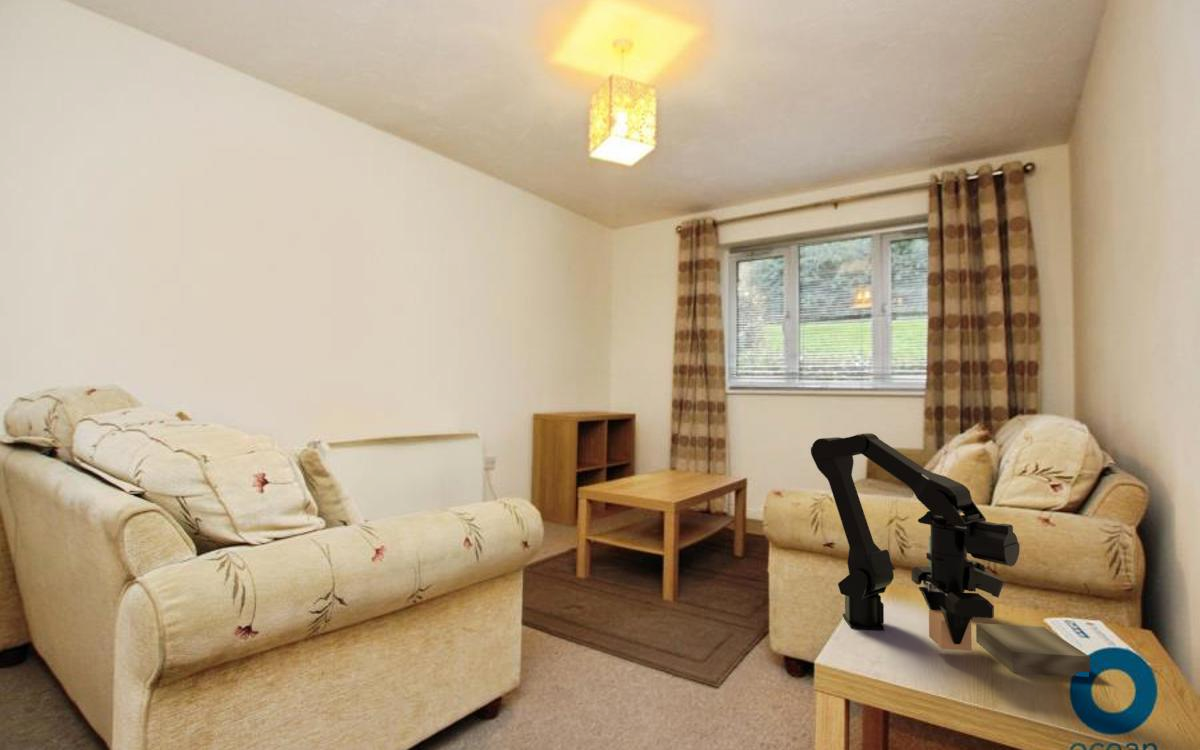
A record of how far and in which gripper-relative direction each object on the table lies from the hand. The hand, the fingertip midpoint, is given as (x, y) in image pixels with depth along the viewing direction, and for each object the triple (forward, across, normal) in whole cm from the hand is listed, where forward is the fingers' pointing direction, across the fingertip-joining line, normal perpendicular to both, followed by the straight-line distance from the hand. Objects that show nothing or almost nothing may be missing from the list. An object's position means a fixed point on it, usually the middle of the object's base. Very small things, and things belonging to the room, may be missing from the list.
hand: (949, 637), depth 103 cm
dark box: (+4, +1, -14) cm, 14 cm away
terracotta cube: (+1, 0, 0) cm, 1 cm away
